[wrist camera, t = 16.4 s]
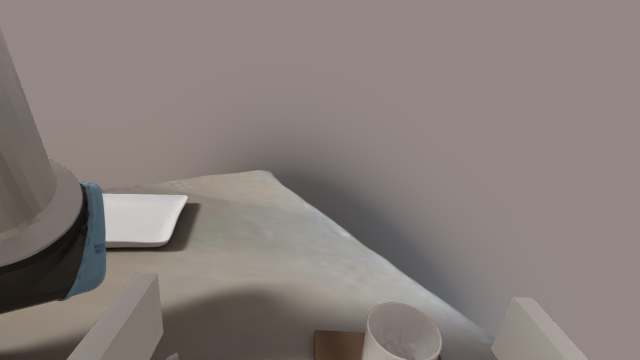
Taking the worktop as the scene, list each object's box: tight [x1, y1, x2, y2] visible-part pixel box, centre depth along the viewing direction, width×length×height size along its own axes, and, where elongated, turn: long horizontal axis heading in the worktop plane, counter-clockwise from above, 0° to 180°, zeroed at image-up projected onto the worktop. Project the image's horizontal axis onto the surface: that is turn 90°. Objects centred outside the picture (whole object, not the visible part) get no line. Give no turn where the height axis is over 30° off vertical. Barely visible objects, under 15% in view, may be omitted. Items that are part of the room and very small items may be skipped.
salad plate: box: [102, 194, 188, 248], centre depth 66 cm, size 21×21×3 cm
